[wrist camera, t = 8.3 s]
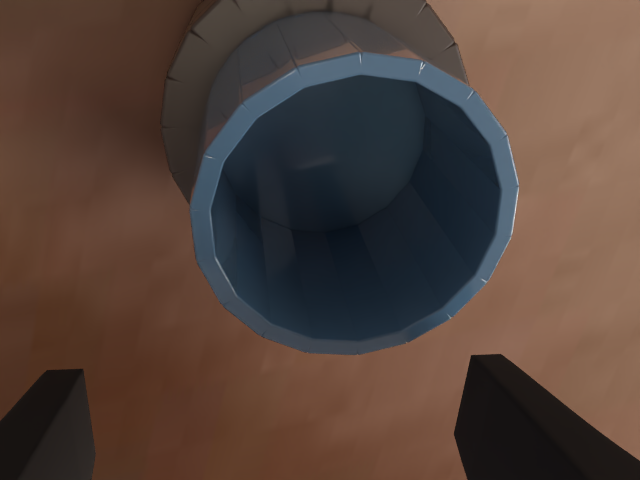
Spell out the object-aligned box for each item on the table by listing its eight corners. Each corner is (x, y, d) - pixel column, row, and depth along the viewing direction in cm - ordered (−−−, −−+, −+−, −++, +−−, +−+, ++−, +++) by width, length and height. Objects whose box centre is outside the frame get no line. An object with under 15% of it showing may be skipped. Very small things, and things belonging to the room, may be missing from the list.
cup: (311, 272, 17) (341, 402, 12) (152, 126, 14) (116, 221, 10) (475, 136, 16) (575, 225, 11) (331, -48, 13) (384, -33, 9)
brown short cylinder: (293, 241, 21) (307, 313, 17) (122, 81, 18) (92, 125, 14) (467, 94, 20) (525, 137, 16) (312, -112, 16) (338, -123, 12)
